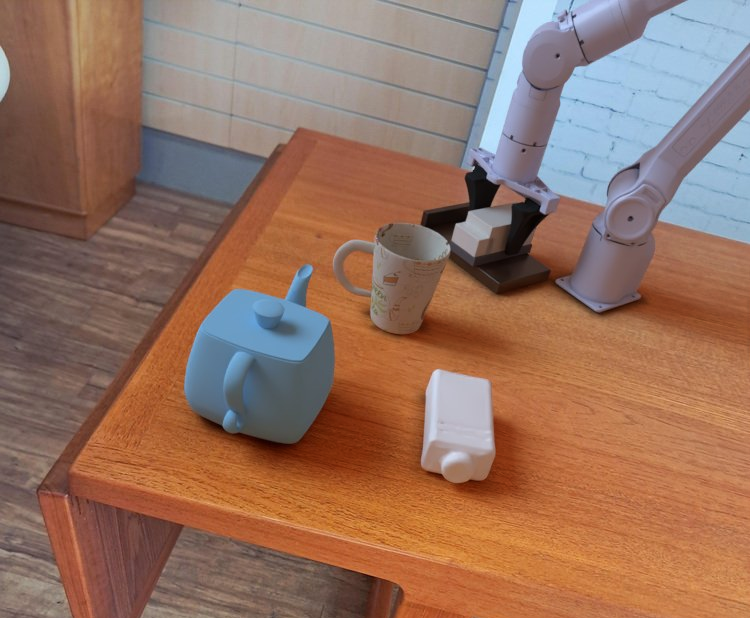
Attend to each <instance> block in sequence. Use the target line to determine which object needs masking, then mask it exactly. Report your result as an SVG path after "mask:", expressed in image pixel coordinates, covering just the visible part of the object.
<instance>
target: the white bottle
mask: <svg viewBox="0 0 750 618" xmlns="http://www.w3.org/2000/svg"><path fill="white" fill-rule="evenodd" d="M492 386H493V385H492V382H491V380H489V379H487V378H482V377H477V376H472V375H467V374H463V373H458V372H454V371H450V370H449V371H448V370H444V369H442V368H437V369H434V371H433V372H432V374H431V376H430V378H429V381H428V384H427V386H426V390H425V407H424V425H423V440H422V441H423V443H422V452H421V457H420V466H421V468H422V469H423V470H424V471H426V472H431V473H436V474H441V475H442V476H443V478H444V479H445V480H447V481H448V482H450V483H453V484H461V483H462V484H463V483H465V482H468V481H470V480H472V481H477V482H479V481H484V480H486V478H488V476H489V474H490V471H491V469H492V465H493V462H494V460H495V457H496V453H497V452H496V444H495V432H494V431H495V427H494V425H495V424H494V403H493V390H492V389H493V387H492Z"/></svg>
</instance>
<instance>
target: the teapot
mask: <svg viewBox="0 0 750 618" xmlns="http://www.w3.org/2000/svg"><path fill="white" fill-rule="evenodd" d="M313 271H314V268H313V266H312V264H309V263H307V264H304V265H302V266H301V267H300V268H299V269H298V270H297V271H296V273H295V275H294V278H293V280H292V282H291V285H290V287H289V289H288V291H287V293H286V295H285V298H281V297H277V296H275V295H274V296H273V295H270V294H266V293H262V292H258V291H254V290H249V289H246V288H245V289H244V288H234V289H232V290H231V291H230V292H229V293H227V294H226V295H225V296H224V297H223V298H222V300H220V301H219V303H218V304H217V305H216V306H214V308H213V309H212V310H211V311H210V312H209V314H208V315H206V317H205V318H204V319H203V321H202V322H201V324H200V325H199V328H198V331H197V332H196V334H195V337H194V341H193V343H192V346H191V349H190V353H189V356H188V360H187V364H186V369H185V376H184V384H183V385H184V387H183V388H184V390H183V391H184V396H185V399H186V401H187V403H188V406H189V407H190V409H191V410H192V411H193V412H195V413H196V414H197V415H199V416H201V417H203V418H204V419H207V420H208V421H211V422H212V423H215V424H217V425H220V426H222V428H223V429H224V431H225V432H227V433H229V434H238V433H241V434H243V435H248V436H250V437H255V438H258V439H262V440H265V441H266V440H267V441H271V442H275V443H279V444H280V443H281V444H288V445H290V444H296V443H298V442H299V441H300V440H302V438H303V436H304V435H305V434H306V433H307V431H308V430H309V429H310V427H311V425H313V423H314V421H315V420H316V418H317V417H318V416H319V414H320V412H321V410H322V409H323V407H324V405H325V403H326V401H327V399H328V397H329V394H330V392H331V390H332V388H333V384H334V377H335V365H336V364H335V363H336V355H335V354H336V353H335V352H336V351H335V341H334V334H333V328H332V322H331V320H330V319H329V318H328V317H327V316H325V315H324V314H322V313H320V312H318V311H315V310H313V309H311V308H308V307H307V295H308V287H309V283H310V280H311V277H312V275H313Z"/></svg>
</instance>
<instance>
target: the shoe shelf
mask: <svg viewBox="0 0 750 618" xmlns="http://www.w3.org/2000/svg"><path fill="white" fill-rule="evenodd" d="M469 211H470V207H469V201H467V202H463V203H457V204H451V205H445V206H442V207H436V208H430V209H426V210H423V212H422V215H421V220H420V224H419V225H420V226H423V227H426V228H429V229H431V230H433V231H435V232H437V233H438V234H440V235H441V236H443V237H444V238H445V239H446V240H447V242H448V243H450V240H452V236H453V232H454V229H455V225H456V224H457V223H462V222H466V219H467V215H468V212H469ZM448 259H450V260H451V261H452V262H454V264H456V265H457V266H459V267H460V268H461V269H463V270H464V271H466V272H467V273H468V274H469V275H471V276H472V277H473V278H475V279H476V280H477V281H478V282H480V283H481V284H483V285H484V286H485V287H487V288H488V289H489V290H491V291H492V292H493V293H494V294H498V295H499V294H501V293H505V292H508V291H511V290H515V289H518V288H522V287H526V286H529V285H533V284H536V283H540V282H543V281H547V280H549V277H550V276H551V275H550V274H551V271H552V269H551V268H550V267H548V266H547V265H545V264H544V263H543V262H541V261H540V260H538V258H537V259H536V258H535V257H534V256H533V255H531V254H530V253H526V254H522V255H518V256H514V257H510V258H506V259H502V260H498V261H494V262H490V263H486V264H482V265H478V266H474V267H473V266H471V265H470V264H469V263H467V262H466V261H465V260H463V259H462V258H461V257H459V256H458V255H457V254H455V253H454V252H453V251H451V250H450V255H449V258H448Z"/></svg>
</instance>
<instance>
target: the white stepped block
mask: <svg viewBox="0 0 750 618" xmlns="http://www.w3.org/2000/svg"><path fill="white" fill-rule="evenodd" d="M514 203H518V202H517V201H514V202H509V203H505V204H500V205H499V204H498V205H494V206H491V207H488V208H483V209H478V210H473V211H469V212H468V215H467V219H466V222H462V223H457V224H456V225H455V229H454V232H453V236H452V240H450V243H449V245H450V250H451V251H453V252H454V253H455V254H457V255H458V256H459V257H461V258H462V259H463V260H465V261H466V262H467V263H469V264H470V265H471V266H473V267H474V266H478V265H482V264H486V263H490V262H494V261H498V260H502V259H506V258H510V257H514V256H518V255H522V254H526V253H528V254H530V253H531V250H532V248H533V244H532V241H533V239H534V236H535V232H536V229H537V227H536V228H535V229H534V230H533V231H532V233H531V234H530V235H529V237H528V238H527V240H526V241H525V243H524V244H523V246H522V247H521V249H520V251H519V253H518V254H514V255H510V256H507V255H506V254H505V253H504V252H505V246H506V242H507V239H508V235H509V232H510V227H511V219H512V208H511V207H512V204H514Z"/></svg>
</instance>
